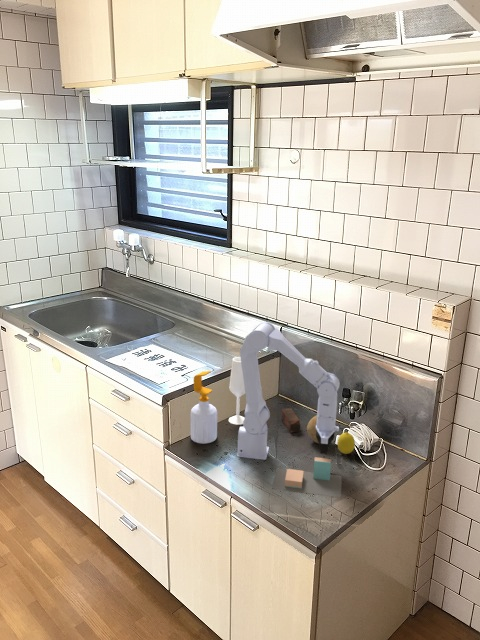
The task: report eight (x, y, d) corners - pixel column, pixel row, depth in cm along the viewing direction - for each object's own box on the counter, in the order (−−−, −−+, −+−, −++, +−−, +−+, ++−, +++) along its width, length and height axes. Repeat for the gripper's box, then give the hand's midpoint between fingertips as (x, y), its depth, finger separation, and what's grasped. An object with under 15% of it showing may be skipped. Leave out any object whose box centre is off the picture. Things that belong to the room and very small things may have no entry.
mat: (272, 489, 164) (272, 488, 164) (276, 469, 174) (276, 468, 174) (340, 498, 161) (341, 497, 161) (341, 477, 171) (341, 476, 171)
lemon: (353, 459, 181) (355, 437, 178) (336, 457, 182) (338, 435, 179) (353, 450, 186) (355, 429, 184) (336, 448, 187) (338, 427, 185)
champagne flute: (234, 426, 200) (236, 364, 193) (225, 418, 206) (226, 357, 198) (250, 421, 204) (252, 360, 196) (240, 414, 209) (242, 354, 202)
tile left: (286, 475, 171) (284, 486, 165) (287, 468, 170) (285, 479, 164) (303, 477, 170) (301, 488, 164) (303, 470, 169) (302, 482, 164)
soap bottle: (207, 447, 186) (207, 379, 179) (185, 439, 191) (184, 372, 183) (222, 435, 193) (223, 370, 186) (200, 428, 198) (200, 364, 190)
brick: (280, 419, 206) (281, 408, 205) (290, 418, 207) (291, 407, 205) (289, 434, 196) (290, 422, 195) (300, 433, 197) (301, 421, 196)
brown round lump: (300, 437, 194) (302, 411, 190) (323, 433, 197) (325, 408, 194) (313, 450, 186) (315, 423, 182) (336, 446, 189) (339, 419, 186)
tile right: (313, 478, 169) (314, 461, 168) (313, 474, 171) (314, 457, 170) (329, 480, 169) (331, 463, 167) (329, 476, 171) (331, 459, 169)
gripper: (339, 426, 163) (336, 466, 167) (340, 404, 177) (337, 442, 181) (315, 423, 164) (312, 464, 168) (317, 402, 178) (315, 440, 182)
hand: (323, 452), depth 175 cm, fingers closed
